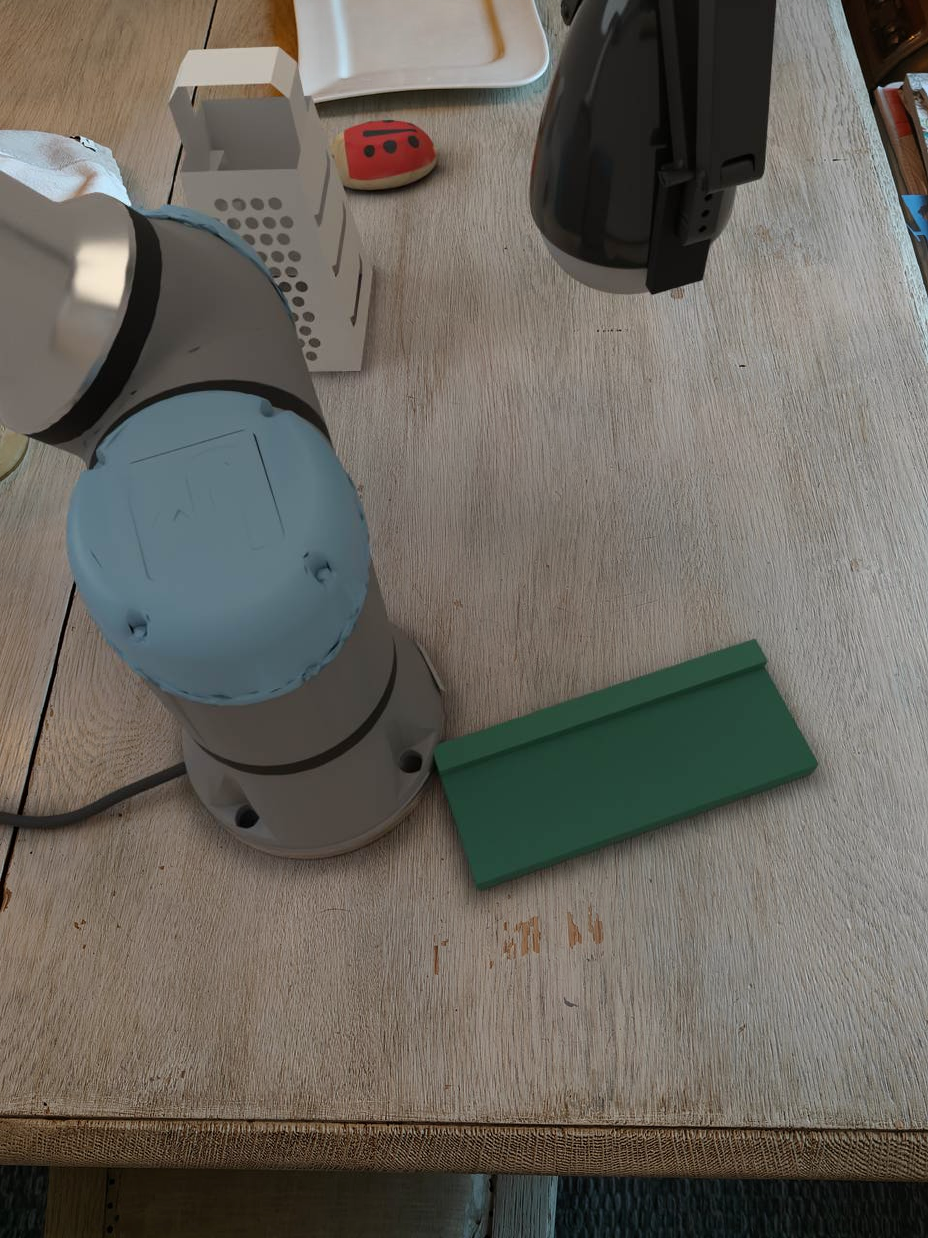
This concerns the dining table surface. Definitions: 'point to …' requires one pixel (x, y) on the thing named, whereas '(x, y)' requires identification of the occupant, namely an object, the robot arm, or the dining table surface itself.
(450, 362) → the dining table surface
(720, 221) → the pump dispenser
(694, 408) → the dining table surface
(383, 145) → the ladybug figurine
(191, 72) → the grater
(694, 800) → the green ledged plate
